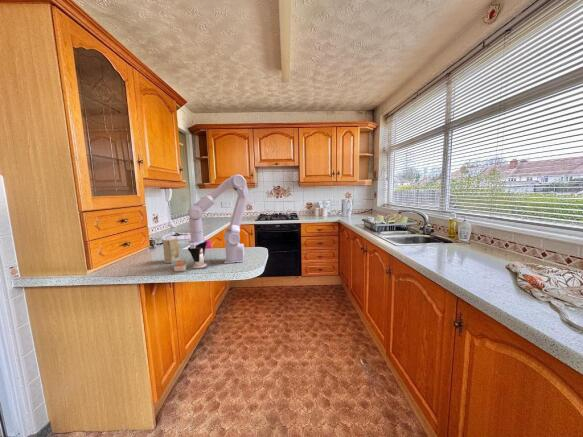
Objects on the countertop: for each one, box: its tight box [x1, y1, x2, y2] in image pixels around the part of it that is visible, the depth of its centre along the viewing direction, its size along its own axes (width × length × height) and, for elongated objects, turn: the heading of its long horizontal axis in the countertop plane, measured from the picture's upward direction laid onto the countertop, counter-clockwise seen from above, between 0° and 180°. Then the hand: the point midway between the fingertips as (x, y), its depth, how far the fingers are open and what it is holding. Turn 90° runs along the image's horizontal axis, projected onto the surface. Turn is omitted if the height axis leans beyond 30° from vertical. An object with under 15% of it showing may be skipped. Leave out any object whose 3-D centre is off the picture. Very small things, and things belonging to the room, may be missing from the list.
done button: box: [175, 260, 186, 266], centre depth 109 cm, size 3×3×2 cm
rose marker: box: [195, 248, 205, 267], centre depth 112 cm, size 4×4×8 cm
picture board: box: [186, 260, 213, 270], centre depth 114 cm, size 9×10×1 cm
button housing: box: [173, 262, 188, 272], centre depth 109 cm, size 4×4×2 cm
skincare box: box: [162, 237, 180, 264], centre depth 122 cm, size 6×4×12 cm
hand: (199, 259), depth 112 cm, fingers open, 7 cm apart
